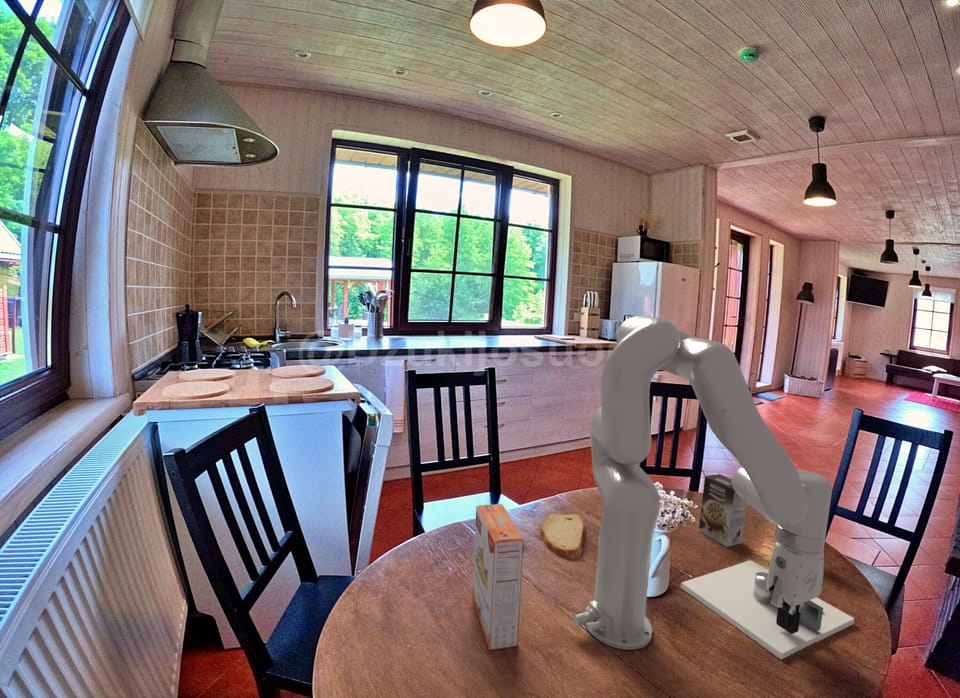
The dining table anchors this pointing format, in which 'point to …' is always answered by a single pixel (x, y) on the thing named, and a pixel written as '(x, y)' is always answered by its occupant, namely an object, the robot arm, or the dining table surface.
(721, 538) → the cookie box
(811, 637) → the white flat board
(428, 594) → the dining table surface
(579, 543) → the slice of bread
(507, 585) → the cracker box
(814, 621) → the tuning lever
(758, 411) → the robot arm
